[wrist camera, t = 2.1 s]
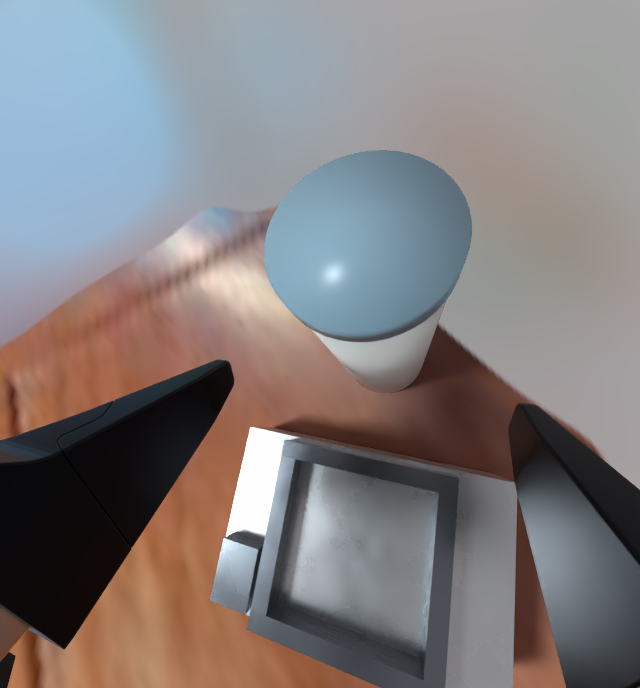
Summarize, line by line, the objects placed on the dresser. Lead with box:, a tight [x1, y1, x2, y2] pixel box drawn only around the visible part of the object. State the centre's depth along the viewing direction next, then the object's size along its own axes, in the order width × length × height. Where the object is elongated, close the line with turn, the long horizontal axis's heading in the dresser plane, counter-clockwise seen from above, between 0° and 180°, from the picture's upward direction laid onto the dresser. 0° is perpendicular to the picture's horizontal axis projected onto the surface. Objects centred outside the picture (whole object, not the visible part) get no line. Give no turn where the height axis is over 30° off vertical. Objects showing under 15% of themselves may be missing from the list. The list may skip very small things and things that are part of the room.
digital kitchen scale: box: [210, 427, 517, 688], centre depth 16 cm, size 9×14×4 cm, turn 80°
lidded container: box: [264, 150, 472, 393], centre depth 14 cm, size 5×5×13 cm
